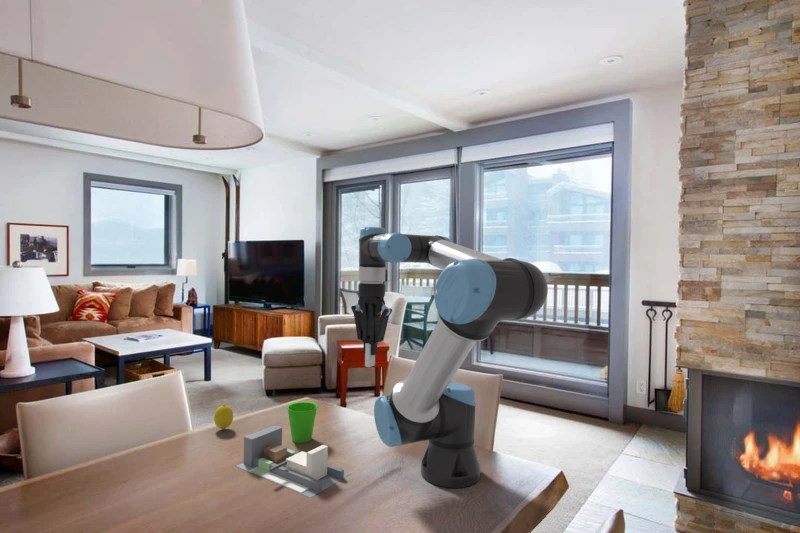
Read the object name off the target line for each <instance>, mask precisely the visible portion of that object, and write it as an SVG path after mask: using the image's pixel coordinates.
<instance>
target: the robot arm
mask: <svg viewBox="0 0 800 533" xmlns="http://www.w3.org/2000/svg"><path fill="white" fill-rule="evenodd" d="M358 243H359V249H358V250H359V252H358V278H357V279H358V282H359V283H358V291H357V292H358V293H357V295H358V296H359V298H358V300H357V303H356V304H355V305H351V307H350V308H351V311H352V313H353V318H354V324H355V331H356V337H357V339H358V340H359V341H362V342H363V346H362V347H363V350H362V351H363V354H364V367H367V368H371V367H374V366H376V356H377V354H378V344H379V343H380V342H383V341H384V340H385V335H386V331H387V327H388V322H389V319H390V315H391V314H392V313H393V309H392V308H390V307H388V306H387V305H386V302H385V295H386V284H385V283H384V282H385V281H386V263H392V264H393V263H394V264H396V263H415V264H416V263H419V264H420V263H423V264H429V265H431V266H433V267H436V268H437V269H440V270H442V271H441V273H440V274H439V276H438V277H437V280H436V284H435V287H434V289H435V291H436V293H435V294H434V304H435V308H436V310H437V316H438V318H439V319H438V321H437V322H436V325H435V326H434V327H433V330H432V332H431V334H430V335H429V337H428V339H427V340H426V342H425V344H424V346H423V348H422V350H421V351H420V354H419V355H418V357H417V359H416V361H415V363H414V364H413V366H412V369H410V372H409V373H408V375H407V377H406V378H405V379H402V380H401V381H398V383H396V384H395V386H394V387H393V390H392V391H391V393H390V394H389V395H382V396H378V397H377V398H376V399H375V401H374V405H373V406H374V407H373V415H374V416H373V417H374V423H375V427H376V431H377V434H378V436H379V438H380V441H382V443H383V444H384V445H386V446H387V447H389V448H393V447H402V446H405V445H410V444H416V443H420V442H423V441H424V442H425V441H428V442H427V446H426V448H425V451H424V453H423V457H422V459H421V463H420V474H421V476H422V478H423V479H424V480H426V481H427V482H429V483H431V484H433V485H435V486H439V487H442V488H443V487H444V488H451V489H459V488H460V489H462V488H467V487H471V486H473V485H475V484H477V483H478V482H479V480H480V479H481V465H480V462H479V459H478V455H477V451H476V448H475V427H476V426H475V425H476V424H475V422H476V421H475V420H476V419H475V418H476V406H477V404H476V393H475V391H474V389H473V388H472V387H470V386H468V385H467V384H464V383H460V382H456V381H452V380H453V379H454V377H455V376H456V374H457V372H458V370H459V369H460V367H461V366H462V365H463V363H464V361H465V360H466V358H467V357H468V355H469V353H470V352H471V350H472V349H473V347H474V346H475V344H476V342H482V341H484V340H486V339H488V338H489V337H490V336H491V334H492V333H493V332H494V329H495V328H496V326H497V325H498V323H499V322H502V321H503V322H504V321H517V320H524V319H528V318H530V317H532V316H534V315H535V314H536V313H537V312H539V311H540V310H541V309H542V307H544V305H545V302H546V300H547V297H548V291H549V290H548V289H549V288H548V282H547V279H546V276H545V275H544V273H543V272H542V270H540V268H539V267H538V266H536V265H535V264H532V263H530V262H527V261H523V260H519V259H517V258H512V257H506V258H503V259H501V258H500V257H499V258H498V257H497V256H492V255H491V254H488V253H487V254H486V253H485V252H481V251H478V250H475V249H472V248H469V247H466V246H463V245H461V244H457V243H454V242H452V241H451V239H450V238H449V237H447V236H442V235H437V234H436V235H427V234H426V235H423V234H421V235H420V234H409V233H407V234H406V233H400V232H393V231H392V232H389V233H387V230H386V229H385V228H384V227H377V226H365V227H361V228H360V231H359V239H358Z"/></svg>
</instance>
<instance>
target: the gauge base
mask: <svg viewBox="0 0 800 533" xmlns="http://www.w3.org/2000/svg"><path fill="white" fill-rule="evenodd" d="M274 444H279V445H282V444H283V427H281V426H278V425H272V426H269V427H266V428H263V429H260V430H259V431H255V432H253V433H250V434H247V435H244V437H243V462H242V463H240V464H237V465H235V467H237V468H238V469H241V470H242V471H243V470H244V471H246V472H248V473H251V474H253V475H255V476H258V477H259V478H262V479H265V480H266V481H270V482H272V483H274V484H276V485H279V486H280V487H284V488H286V489H289V490H291V491H293V492H295V493H297V494H300V495H302V496H303V497H304V496H305V497H307V498H309V499H311V498H313V497H315V496H316V495H318V494H319V493H321V492H324V490H326V489H328V488H330V487H331V486H333V485H335V484H336V483H339V482H340V481H341V480H343V479H344V478H346V477H348V476H350V475H351V473H350V472H347V471H345V469H344V468H340V467H338V466H336V465H332V464H329V463H328V466H327V475H326V476H324V477H322V478H320V479H319V480H316V479H313V478H311V477H308V476H305V475H303V474H300V473H298V472H295V471H293V470H290V469H288V468H286V465H284V466H282V467H280V468H278V469H275V470H273V471H270V468H271V467H273V466H275V465H277V464H275V463H273V462H272V461H270V460H267V459H264V449H265V448H267V447H269V446H272V445H274ZM282 446H283V445H282ZM297 453H298V452H297V451H295V450H292V449H290V448H287V458H289V457H291V456H293V455H295V454H297Z"/></svg>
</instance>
